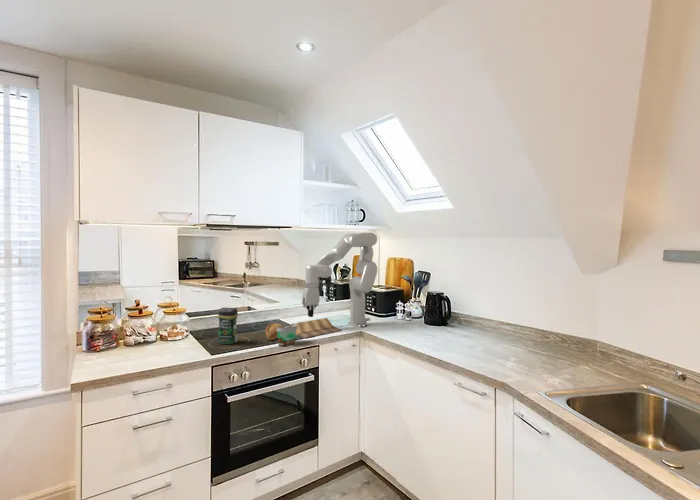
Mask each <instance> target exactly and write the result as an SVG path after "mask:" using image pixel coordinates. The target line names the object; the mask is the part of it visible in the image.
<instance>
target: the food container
mask: <svg viewBox="0 0 700 500" xmlns="http://www.w3.org/2000/svg"><path fill="white" fill-rule="evenodd" d="M294 323H295V322H292V324H293V325H291V324H290V325H285V326H284V327H283V328H280V327H277V331H278V338H277V343H278V347H282V348H288V347H289V346H291V345H293V344H296V336H297V335H296V330H297V325H296V324H294Z"/></svg>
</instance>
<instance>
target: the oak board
mask: <svg viewBox="0 0 700 500" xmlns="http://www.w3.org/2000/svg"><path fill="white" fill-rule="evenodd" d="M293 323H294V324H296V325H297V330H296V336H298V334H301V333H306V332H312V331H317V330H322V329H327V328H332V327H334V325H333V324H332V322H331V321H330V320H329V318H328V317H324V318H319V319H312V320H306V321H301V322H296V323H295V322H293ZM293 323H291V324H290V326H291V325H293Z"/></svg>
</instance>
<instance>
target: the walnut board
mask: <svg viewBox="0 0 700 500" xmlns="http://www.w3.org/2000/svg"><path fill="white" fill-rule="evenodd" d="M342 331H343V329H341V328H338V327H334V326H333V327H332V328H327V329H322V330H317V331H312V332H306V333H301V334H298V335H297V336H299V337H301V338H303V339H309V338H314V337H320V336H323V335H329V334H334V333H338V332H342Z"/></svg>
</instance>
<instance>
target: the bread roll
mask: <svg viewBox="0 0 700 500" xmlns="http://www.w3.org/2000/svg"><path fill="white" fill-rule="evenodd" d="M277 327H280V328H283V327H285V326H284V325H283V324H281V323H277V322H272V323H270V324H268V325H267V326H266V328H265V336H266V339H267V340H269V341H273V340H278V331H277Z"/></svg>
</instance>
